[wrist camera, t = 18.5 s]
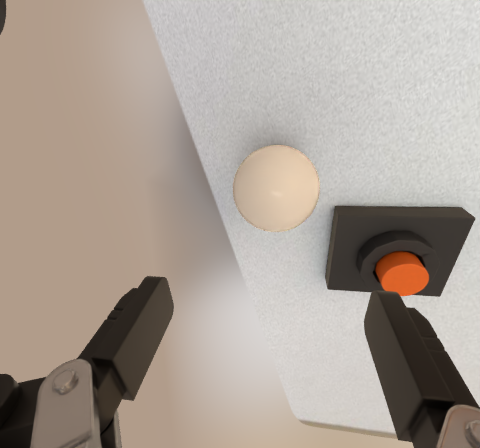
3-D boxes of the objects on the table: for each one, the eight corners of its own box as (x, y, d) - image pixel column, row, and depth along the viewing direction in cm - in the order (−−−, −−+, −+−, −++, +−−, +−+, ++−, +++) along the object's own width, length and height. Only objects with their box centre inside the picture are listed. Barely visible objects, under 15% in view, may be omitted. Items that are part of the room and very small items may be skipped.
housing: (325, 277, 32) (329, 301, 29) (334, 205, 27) (341, 224, 24) (430, 283, 30) (449, 309, 27) (462, 207, 25) (489, 228, 22)
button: (371, 280, 27) (377, 294, 25) (379, 249, 25) (386, 263, 23) (413, 282, 26) (422, 297, 25) (424, 251, 24) (435, 265, 23)
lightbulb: (249, 189, 28) (230, 248, 18) (244, 128, 25) (218, 161, 15) (309, 188, 27) (321, 249, 17) (312, 123, 24) (329, 156, 14)
